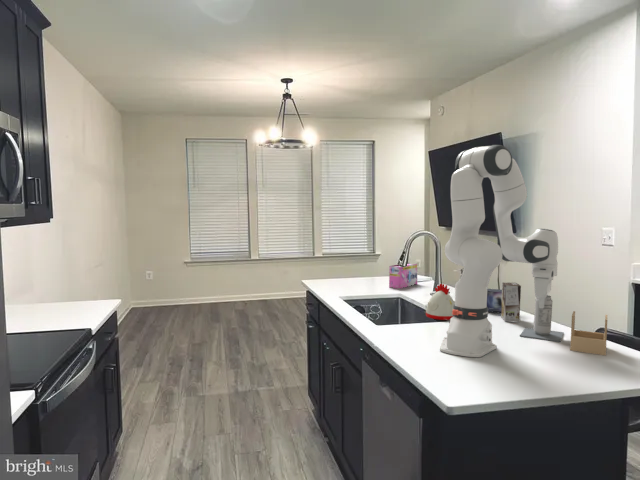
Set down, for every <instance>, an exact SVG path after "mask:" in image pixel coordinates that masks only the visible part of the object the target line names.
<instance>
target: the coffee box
mask: <svg viewBox="0 0 640 480" xmlns="http://www.w3.org/2000/svg"><path fill="white" fill-rule="evenodd" d="M521 288H522V285H520V284H519V283H517V282H502V283H501V290H502V306H501V313H500V315H501V318H502V320H503V321H504V322H507V323H508V322H510V323H520V317H521V315H520V313H521V297H522V296H521V294H522V289H521Z"/></svg>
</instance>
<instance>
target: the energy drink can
mask: <svg viewBox="0 0 640 480" xmlns="http://www.w3.org/2000/svg"><path fill="white" fill-rule="evenodd" d="M534 301H535V303H534V320H533V328H534V331H535V333H536V334H538V335H545V336H546V335H549V333H551V331H552V318H553V316H552V314H553V299H552V296H551V295H549V294H548V295H547V297H546V298H545V302H544V303H545V305H544V308H539V300H538V298H537V297H535V299H534Z"/></svg>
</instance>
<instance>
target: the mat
mask: <svg viewBox="0 0 640 480" xmlns="http://www.w3.org/2000/svg"><path fill="white" fill-rule="evenodd" d="M563 336H564V332H563V331H557V330H556V331H555V330H551V333H549V335H546V336H545V335H538V334H536V333H535V331H534V327H533V328H532V327H524V329H523V330H522V332H521V333H520V335H519V337H521V338H527V339H528V338H529V339H534V340H542V341H543V340H544V341H550V342H556V343H557V342H558V343H561V342H562V339H563Z"/></svg>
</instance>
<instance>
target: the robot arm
mask: <svg viewBox="0 0 640 480" xmlns="http://www.w3.org/2000/svg"><path fill="white" fill-rule="evenodd" d="M484 178H488V179H489V180H490V182H491V188H492V191H493V194H494V196H493V197H494V203H493V206H492V213H493V220H494V226H495V232H496V237H497V238H496V239H497V243H496V242H494V241H492V240H490V239H487V238H480V237H479V233H480V228H481V225H482V224H483V223H484V222H485V219H486V213H485V212H486V211H485V201H484V200H485V199H484V192H483V180H484ZM527 197H528V190H527V186H526V183H525V179H524V176H523V174H522V172H521V169H520V167H519V164H518V163H517V161H516V159H514V158H513V156H512V154H511V152H510V150H509V149H508V147H506V146H504V145H501V144H492V145H485V146H484V145H483V146H482V145H481V146H476V147H472V148H467V149H465V150H463V151H461V152H460V153H458V155H457V157H456V159H455V164H454V172H453V173H452V174H451V179H450V205H451V216H452V217H451V218H452V219H451V220H452V226H451V231H450V232H451V233H450V237H449V239H448V241H447V242H446V243H445V246H444V254H445V257H446V259H447V260H448V261H450V262H451V263H453V264H455V265H456V266H460V267H463V268H462V269H463V271H462V274H461V276H460V278H459V280H457V281H456V282H455V285H454V301H455V304H454V307H453V311H452V315H453V317H452V318H451V319H450V320H449V321H450V322H449V326H448V329H447V331H446V336H445V337H443V339H442V342H441V345H440V348H439V351H440V352H443V353H445V354H449V355H455V356H462V357H469V358H481V357H482V358H483V357H484V356H485V355H487V354H489V353H491V352H493V351H494V350H496V349H497V348H498V347H497V346H498V345H497V344H496V343H494V342H493V325H492V323H491V322H490V321H489V319H488V316H489V312H488V307H487V289H489V287H488V286H489V283H490V279H491V277H492V274H493V272H494V271H495V269H496V268H498V267H499V265H501V262H502V261H504V262H516V263H522V264H523V263H525V264H531V266H532V267H531V274H532V278H533V279H534V280H533V281H534V282H533V283H534V294H535V295H534V296H535V298H538V300H539V308H544V305H545V303H544V302H545V298H546V297H547V295H549V294H550V293H551V290H552V281H554V277H557V276H558V253H559V238H558V234H557V232H556V231H555V230H553V229H548V228H536V229H535V231H534V232H533V233H532V234H530V235H529V236H526V237H520V236H517V235H515V234H514V232H513V225H512V224H513V223H512V219H511V214H512V212H513V211H515V210H517V209H519V208H520V207H521V206H523V205H524V203H525V202H526V200H527Z"/></svg>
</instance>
